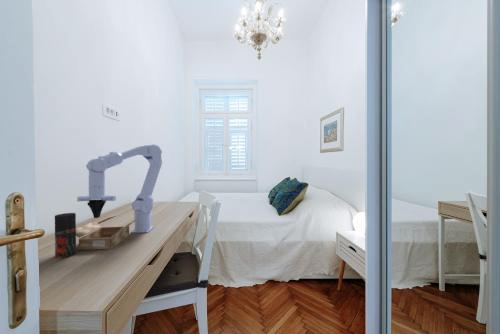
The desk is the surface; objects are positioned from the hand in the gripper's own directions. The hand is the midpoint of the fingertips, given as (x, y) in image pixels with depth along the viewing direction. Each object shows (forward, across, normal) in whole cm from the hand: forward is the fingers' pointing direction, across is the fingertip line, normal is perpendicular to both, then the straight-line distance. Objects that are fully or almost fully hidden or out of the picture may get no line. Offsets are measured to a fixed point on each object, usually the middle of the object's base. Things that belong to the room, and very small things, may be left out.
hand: (96, 217), depth 95 cm
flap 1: (+6, -1, -2) cm, 6 cm away
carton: (+10, +5, -2) cm, 12 cm away
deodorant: (+11, -4, -14) cm, 18 cm away
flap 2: (+6, +11, -2) cm, 12 cm away
